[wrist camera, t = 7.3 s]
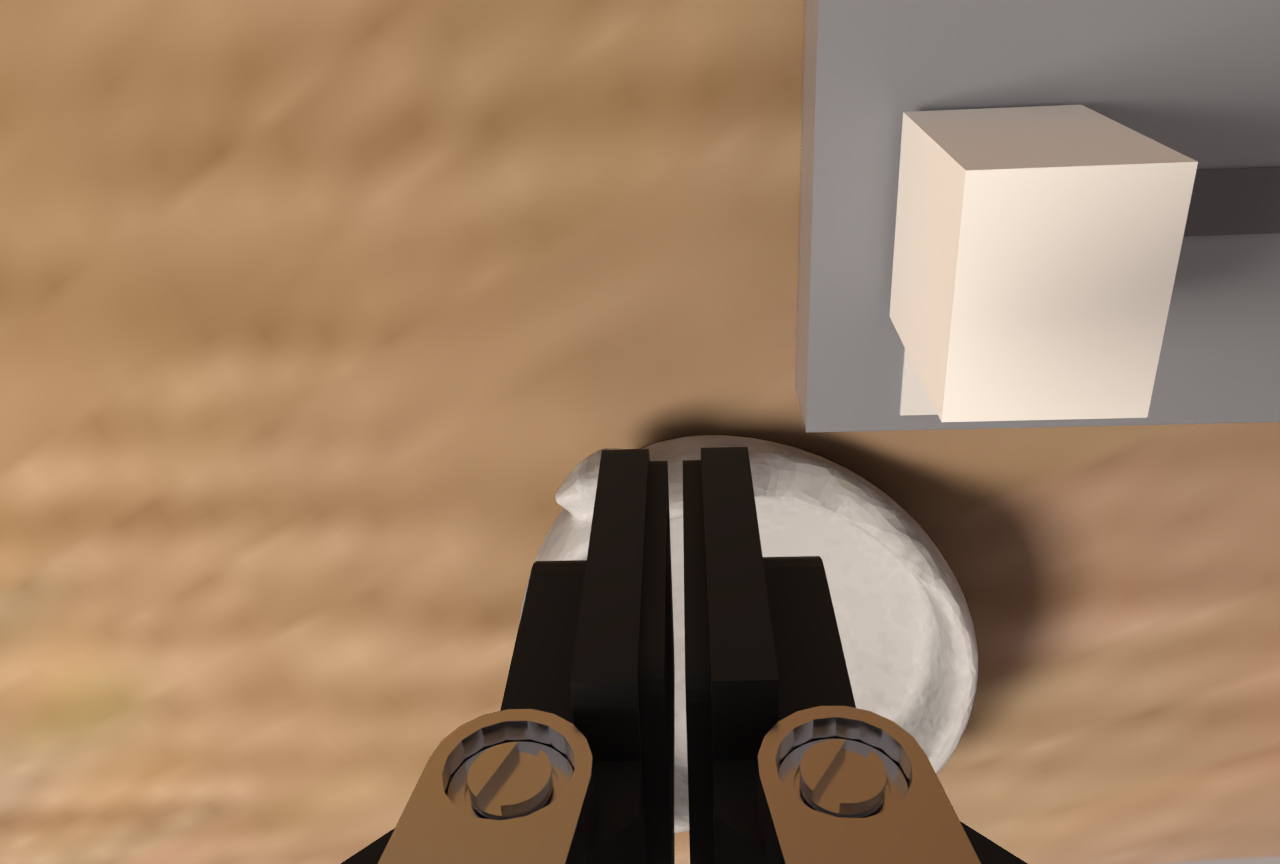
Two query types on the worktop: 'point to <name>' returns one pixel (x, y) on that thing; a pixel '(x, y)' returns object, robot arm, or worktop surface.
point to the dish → (857, 578)
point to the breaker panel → (1025, 77)
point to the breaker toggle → (1035, 261)
